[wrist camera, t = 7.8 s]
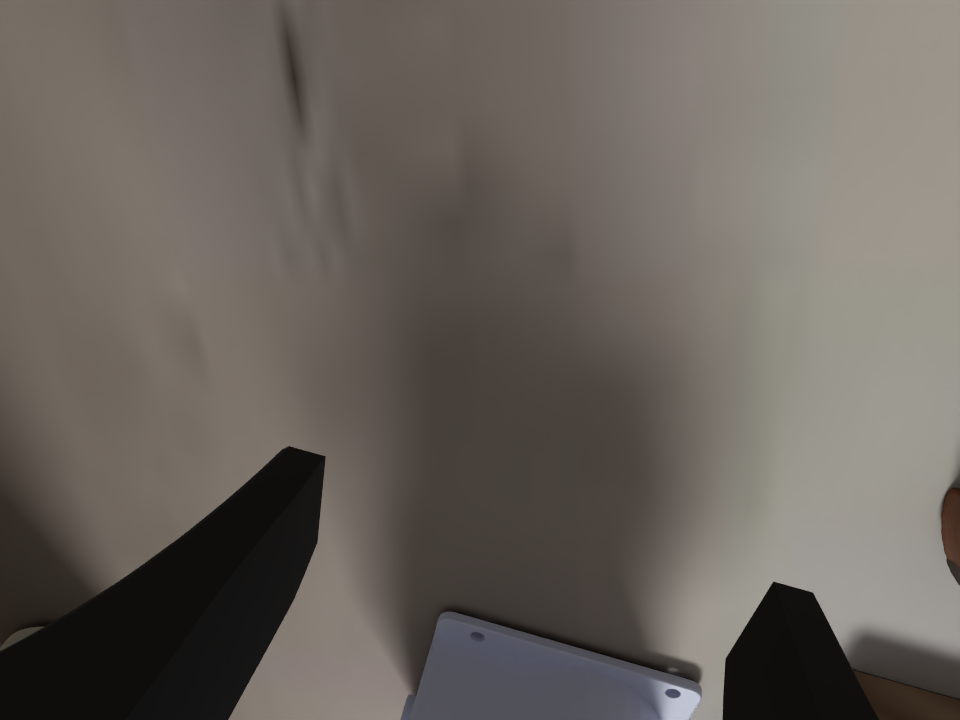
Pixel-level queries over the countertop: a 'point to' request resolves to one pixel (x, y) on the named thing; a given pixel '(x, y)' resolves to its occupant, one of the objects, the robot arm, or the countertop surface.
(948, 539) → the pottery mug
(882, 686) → the bar
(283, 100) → the countertop surface
